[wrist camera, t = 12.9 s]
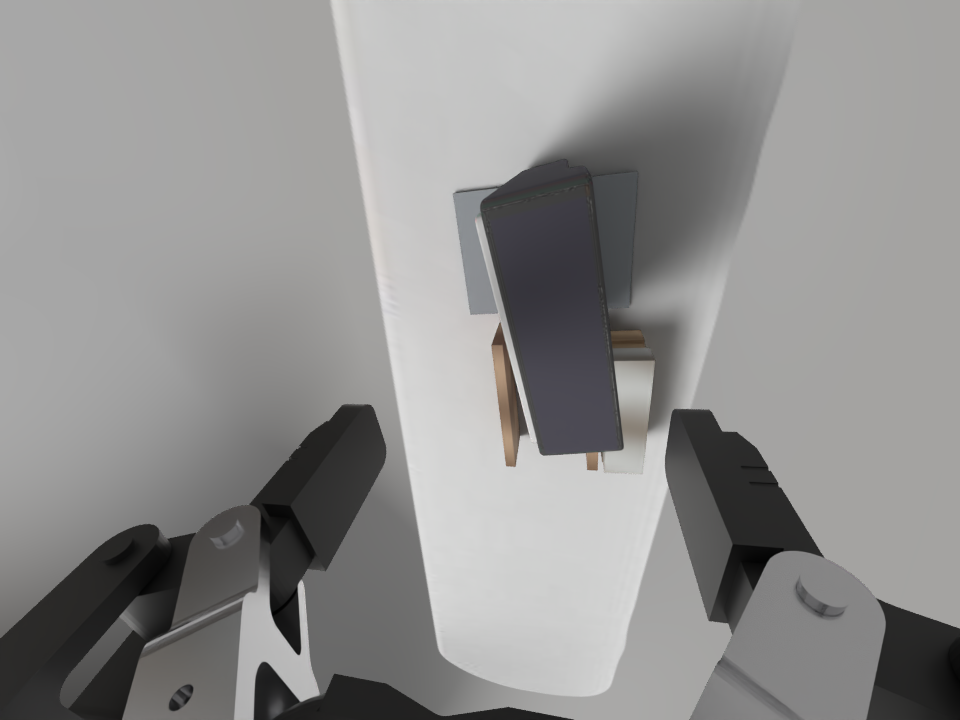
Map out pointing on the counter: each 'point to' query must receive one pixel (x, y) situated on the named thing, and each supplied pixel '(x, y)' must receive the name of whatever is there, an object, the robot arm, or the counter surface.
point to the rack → (513, 402)
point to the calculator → (554, 306)
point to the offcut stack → (631, 400)
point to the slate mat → (614, 234)
